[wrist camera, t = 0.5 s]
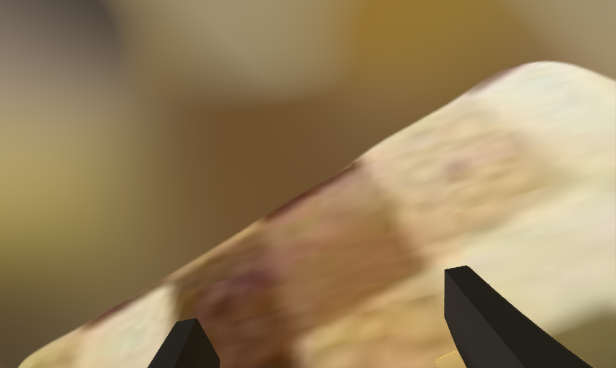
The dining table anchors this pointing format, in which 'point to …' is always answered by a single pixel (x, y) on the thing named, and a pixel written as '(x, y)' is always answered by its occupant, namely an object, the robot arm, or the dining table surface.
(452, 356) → the ochre block
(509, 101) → the dining table surface
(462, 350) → the robot arm
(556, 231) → the dining table surface
